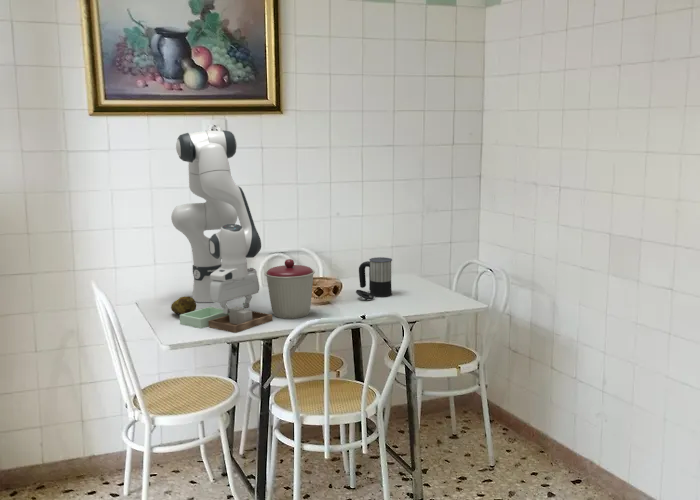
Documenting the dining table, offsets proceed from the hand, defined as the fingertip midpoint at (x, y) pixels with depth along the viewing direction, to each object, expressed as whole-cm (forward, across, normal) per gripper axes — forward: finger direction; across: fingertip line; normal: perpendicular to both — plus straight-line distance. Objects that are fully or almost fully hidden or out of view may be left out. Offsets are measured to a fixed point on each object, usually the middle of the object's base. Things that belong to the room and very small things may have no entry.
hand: (236, 310), depth 256 cm
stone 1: (+4, 0, 0) cm, 4 cm away
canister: (+5, -19, +8) cm, 22 cm away
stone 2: (+4, +1, +5) cm, 7 cm away
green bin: (+5, +5, -11) cm, 13 cm away
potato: (+5, +2, -26) cm, 26 cm away
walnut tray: (+5, 0, +2) cm, 6 cm away
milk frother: (+5, -60, +16) cm, 62 cm away
